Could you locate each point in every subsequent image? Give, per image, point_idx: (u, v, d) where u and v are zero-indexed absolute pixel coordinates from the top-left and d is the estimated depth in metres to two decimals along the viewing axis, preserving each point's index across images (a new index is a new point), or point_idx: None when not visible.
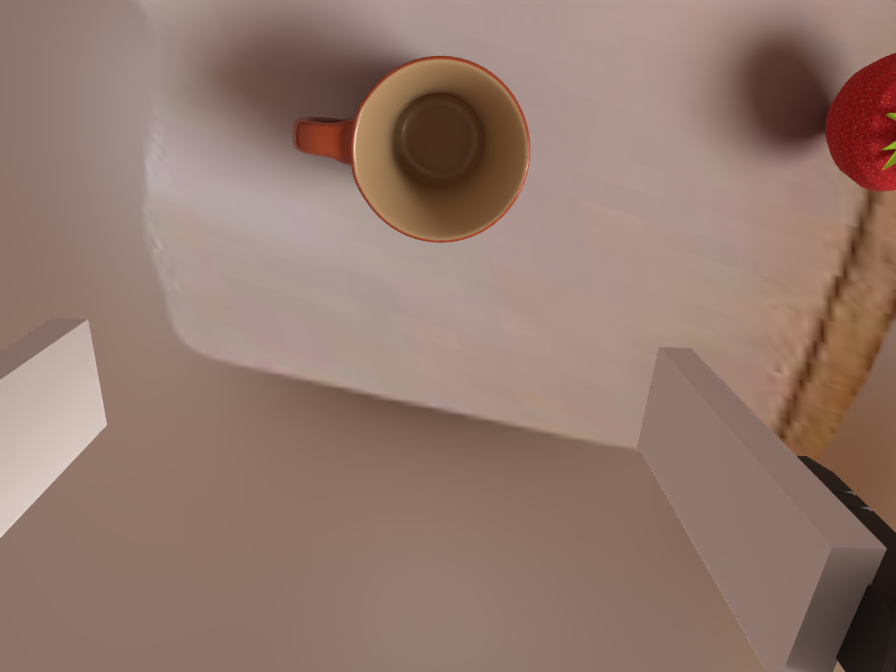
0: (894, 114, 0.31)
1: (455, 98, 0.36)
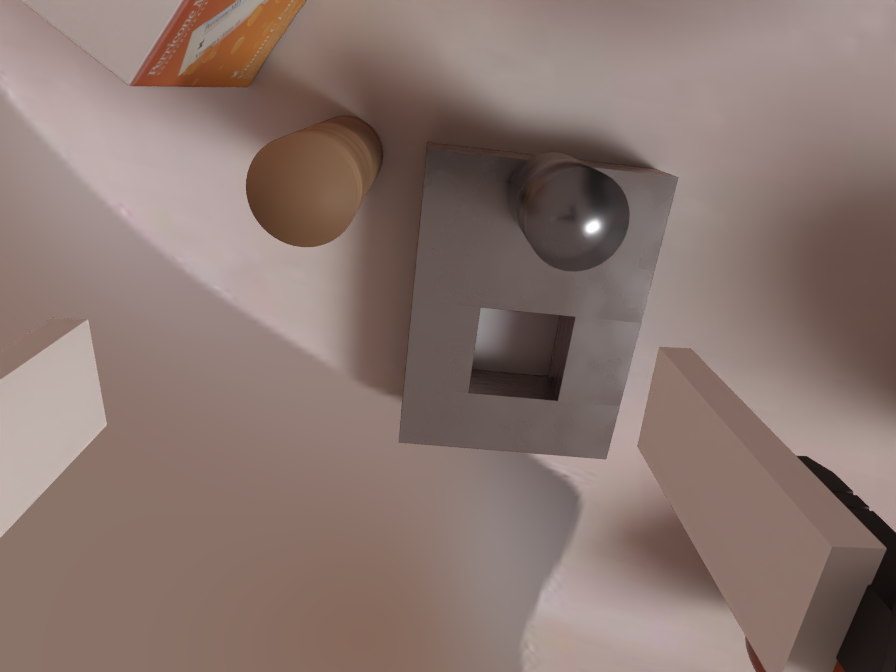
0: None
1: None
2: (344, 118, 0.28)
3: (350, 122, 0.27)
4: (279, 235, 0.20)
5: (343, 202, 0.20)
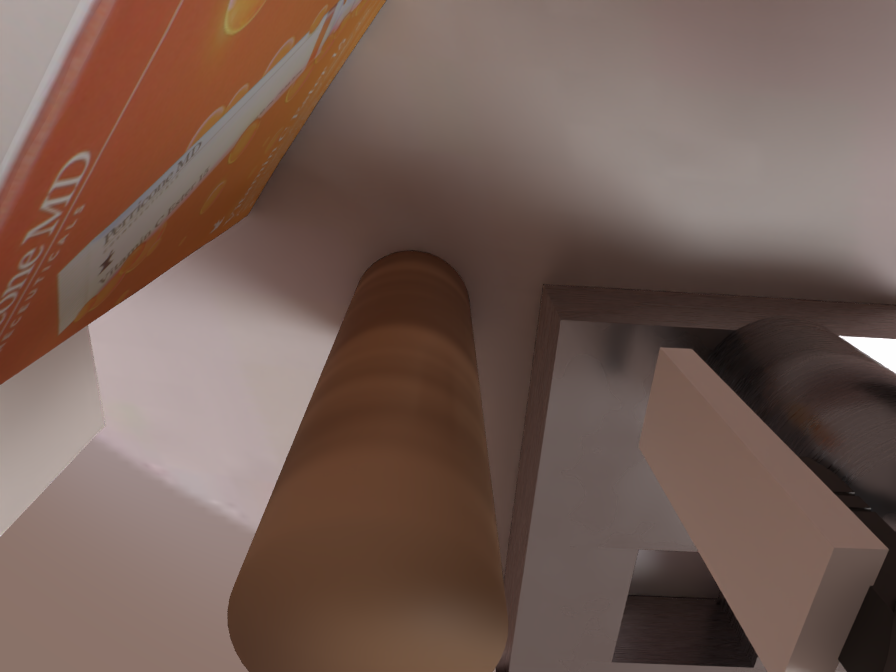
0: None
1: None
2: (411, 271, 0.16)
3: (426, 288, 0.15)
4: None
5: (472, 643, 0.08)
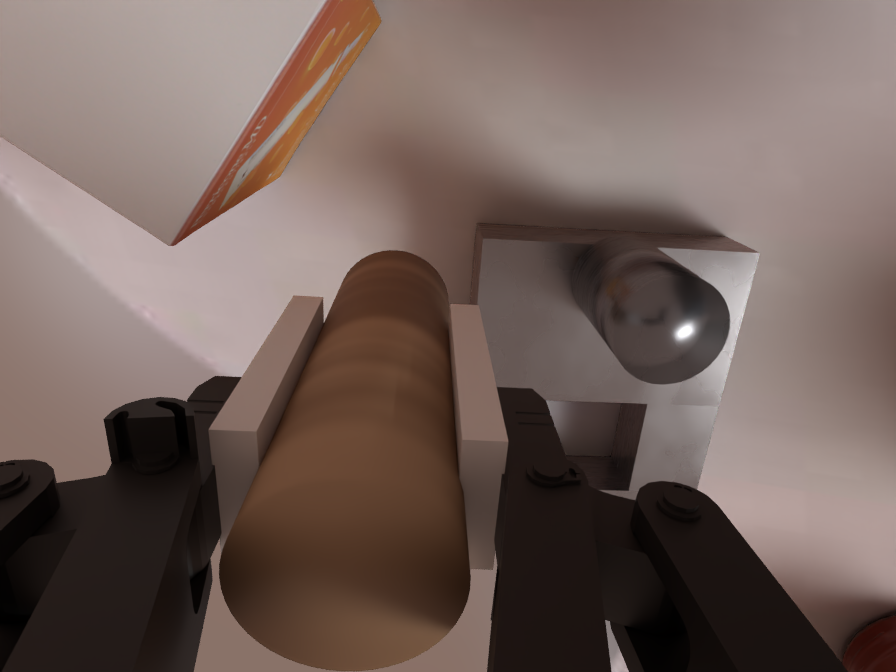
0: None
1: None
2: (394, 269, 0.17)
3: (407, 285, 0.16)
4: (296, 654, 0.09)
5: (438, 596, 0.09)
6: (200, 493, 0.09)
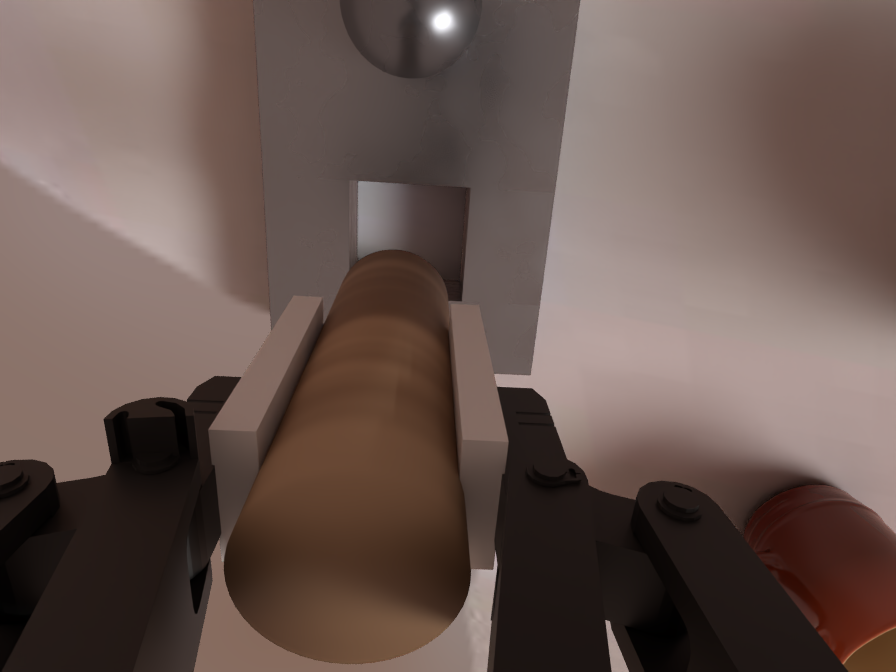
0: None
1: None
2: (394, 268, 0.17)
3: (407, 284, 0.16)
4: (299, 647, 0.09)
5: (439, 589, 0.09)
6: (200, 493, 0.09)
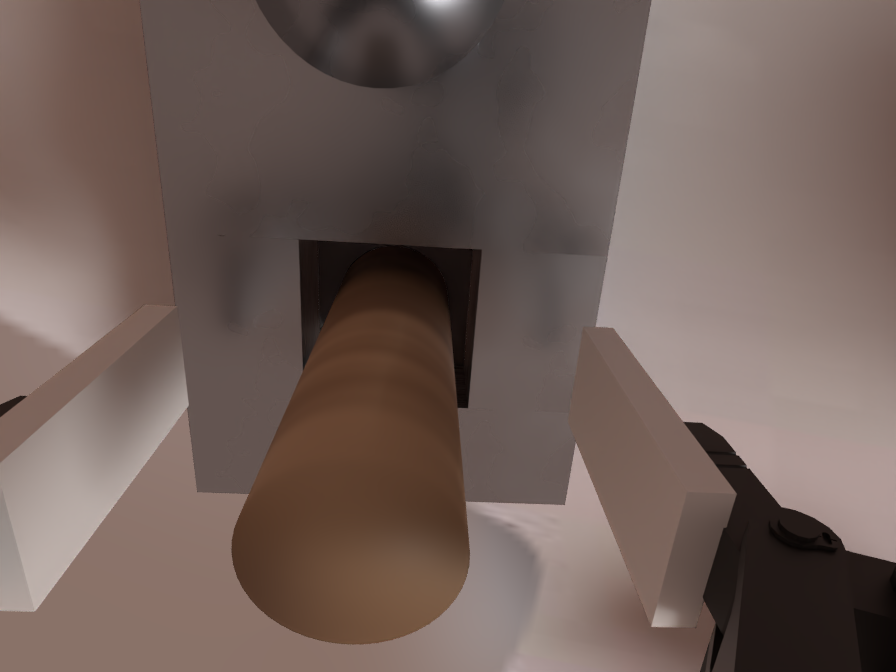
0: None
1: None
2: (395, 263, 0.18)
3: (408, 279, 0.17)
4: (304, 628, 0.10)
5: (439, 571, 0.09)
6: None
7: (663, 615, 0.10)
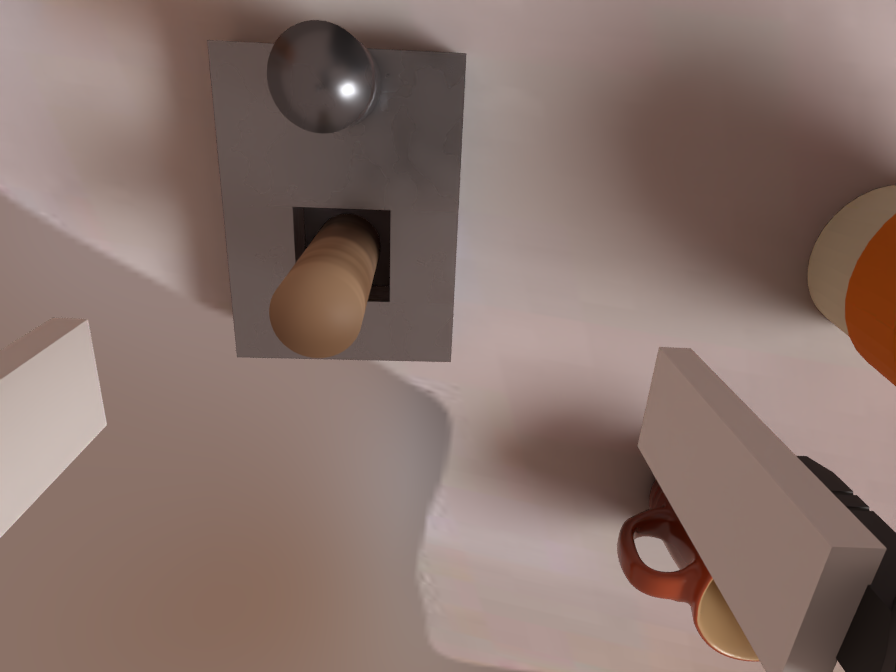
0: None
1: None
2: (345, 220, 0.32)
3: (351, 227, 0.31)
4: (298, 350, 0.24)
5: (350, 321, 0.24)
6: None
7: None
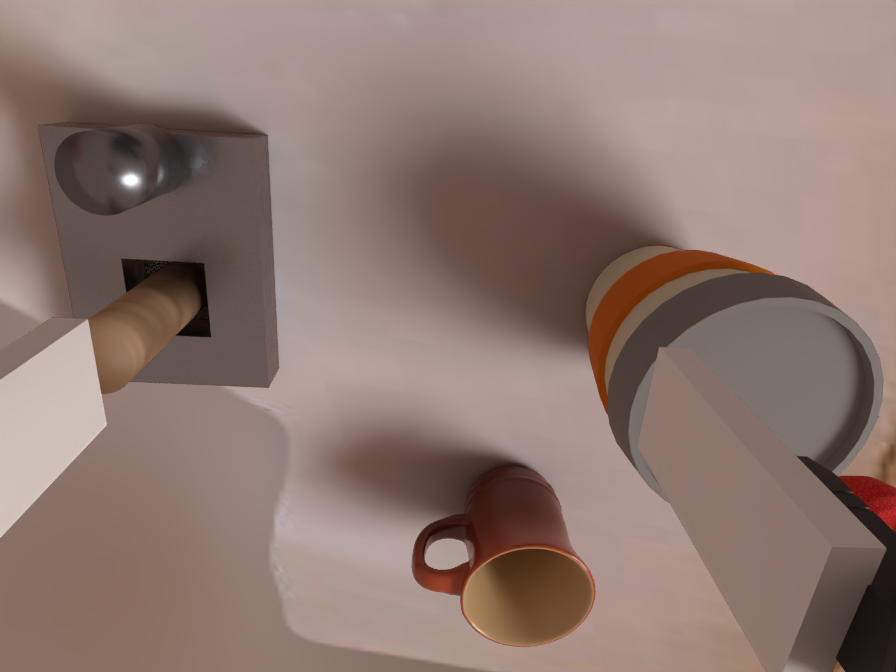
0: None
1: None
2: (171, 269, 0.38)
3: (170, 276, 0.37)
4: None
5: (123, 366, 0.30)
6: None
7: None
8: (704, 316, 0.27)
